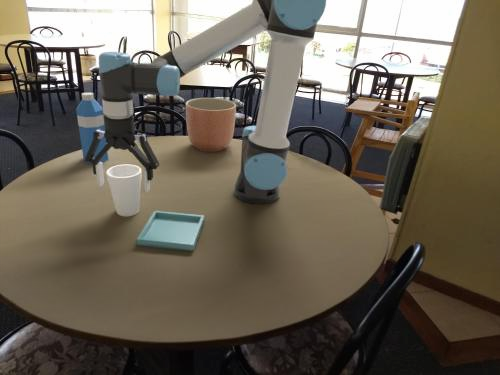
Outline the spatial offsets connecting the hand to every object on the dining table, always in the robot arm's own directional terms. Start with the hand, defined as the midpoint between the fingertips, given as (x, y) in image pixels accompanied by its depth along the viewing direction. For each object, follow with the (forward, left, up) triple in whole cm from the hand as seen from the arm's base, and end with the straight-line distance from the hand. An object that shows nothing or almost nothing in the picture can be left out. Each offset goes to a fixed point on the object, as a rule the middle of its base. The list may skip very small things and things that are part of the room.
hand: (124, 187), depth 107 cm
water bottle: (+26, -35, -8) cm, 44 cm away
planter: (-14, -59, -8) cm, 61 cm away
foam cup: (0, 0, -8) cm, 8 cm away
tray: (-16, +9, -8) cm, 20 cm away
